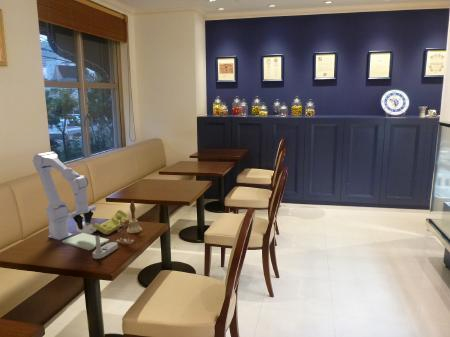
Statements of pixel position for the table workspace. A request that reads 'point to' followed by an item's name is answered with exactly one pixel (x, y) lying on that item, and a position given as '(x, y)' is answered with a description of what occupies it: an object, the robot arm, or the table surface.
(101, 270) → the table surface
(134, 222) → the hand bell
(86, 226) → the grey connector
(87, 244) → the sage board
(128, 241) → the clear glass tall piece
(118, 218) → the plastic component
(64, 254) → the table surface
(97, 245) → the electronic device
